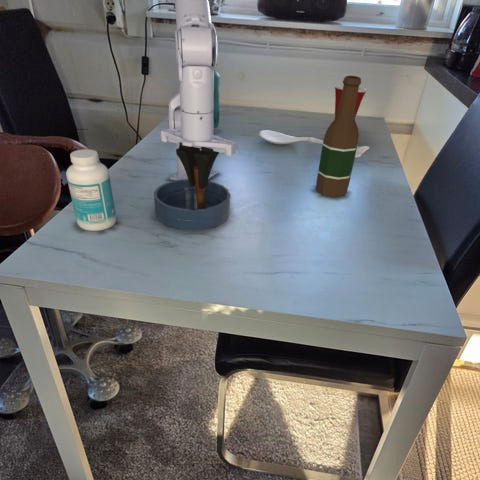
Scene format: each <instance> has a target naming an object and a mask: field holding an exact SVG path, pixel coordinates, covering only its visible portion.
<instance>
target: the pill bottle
mask: <svg viewBox="0 0 480 480" xmlns="http://www.w3.org/2000/svg"><path fill="white" fill-rule="evenodd" d="M69 156H70V162H71V163H72V164H71V165H69V166H68V167H67V170H66V173H65V175H66V180H67V184H68V185H67V186H68V189H69V193H70V198H71V202H72V207H73V211H74V215H75V219H76V223H77V225H78V227H80V228H81V229H83V230H85V231H89V232H91V231H92V232H98V231H99V232H100V231H104V230H107V229H110V228H112V227H113V226H114V225H115V223H116V222H117V214H116V213H117V212H116V207H115V200H114V196H113V195H114V194H113V190H112V183H111V177H110V171H109V169H108V167H107V165H105V164H103V163H102V162H99V160H100V157H99V153H98V151H97V150H94V149H84V148H83V149H78V150H77V149H76V150H74V151H72V152H71V153H70V154H69Z"/></svg>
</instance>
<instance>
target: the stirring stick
mask: <svg viewBox="0 0 480 480" xmlns="http://www.w3.org/2000/svg"><path fill="white" fill-rule="evenodd" d="M193 171H194V180H195V190H196V199H197V208H198V209H203V208H205V198H204V188H203V189H200V188H199V183H198V167H197V166H194V167H193Z"/></svg>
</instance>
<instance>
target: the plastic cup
mask: <svg viewBox="0 0 480 480" xmlns="http://www.w3.org/2000/svg"><path fill="white" fill-rule="evenodd" d="M343 86H344V84H334V91H335V92H334V93H335V95H334V97H335V99H334V100H335V101H334V118H335V117H336V114H337V111H338V107H339V103H340V98H341V94H342V90H343ZM367 92H368V89H367V88H364V87H361V86H359V89H358V96H357V103H356V110H355V118H356V117H357V114H358V112H359V108H360V106H361V103H362V101H363V99H364V97H365V95H366V93H367Z"/></svg>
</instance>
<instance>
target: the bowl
mask: <svg viewBox="0 0 480 480" xmlns="http://www.w3.org/2000/svg"><path fill="white" fill-rule="evenodd" d="M231 197H232V195H231V192H230V190H229V189H228V188H226V187H225V186H224V185H223V184H220V183H218V182H215V181H211V180H208V184H207V186H206V187H205V188H204V198H205V208H203V209H198V208H197V199H196V190H195V185H194V186H193V187H192V186H190V185H189V181H188V179H182V180H176V181H175V180H172V181H168V182H165V183H163V184H161V185H159V186H157V187H156V189H155V190H154V192H153V201H154V213H155V217H156V219H158V221H159V222H161V223H162V224H164V225H166V226H168V227H172V228H175V229H182V230H193V231H194V230H205V229H210V228H215V227H217V226H220V225H222V224H224V223H225V222H226V221H227V220H228V219H229V218H230V215H231V199H232V198H231Z"/></svg>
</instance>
